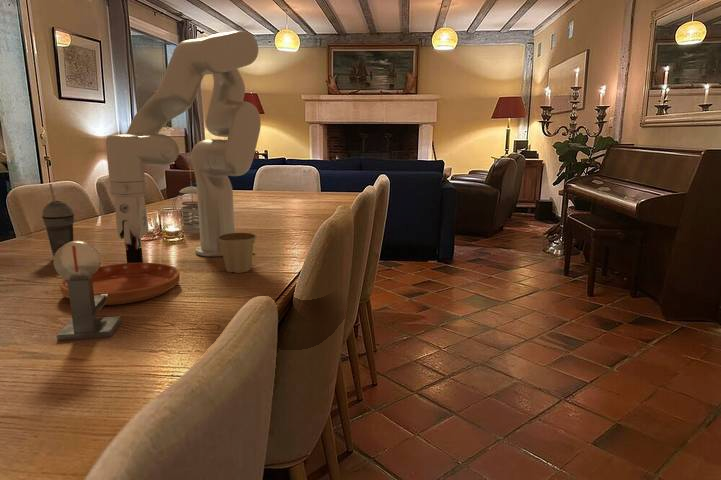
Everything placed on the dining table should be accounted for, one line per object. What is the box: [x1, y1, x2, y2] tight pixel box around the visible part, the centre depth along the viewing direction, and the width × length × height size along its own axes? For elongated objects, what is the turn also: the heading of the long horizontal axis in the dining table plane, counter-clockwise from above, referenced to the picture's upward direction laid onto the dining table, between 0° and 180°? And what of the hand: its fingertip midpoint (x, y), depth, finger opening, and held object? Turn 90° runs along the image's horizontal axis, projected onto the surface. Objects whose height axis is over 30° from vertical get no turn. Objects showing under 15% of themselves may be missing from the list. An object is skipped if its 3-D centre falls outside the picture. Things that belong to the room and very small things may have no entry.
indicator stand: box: [52, 240, 122, 342], centre depth 81 cm, size 8×8×16 cm
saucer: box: [59, 262, 181, 306], centre depth 102 cm, size 23×23×4 cm
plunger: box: [97, 294, 109, 312], centre depth 87 cm, size 1×6×1 cm, turn 13°
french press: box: [171, 157, 200, 234], centre depth 164 cm, size 10×12×25 cm
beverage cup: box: [41, 183, 75, 258], centre depth 125 cm, size 7×7×20 cm
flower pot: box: [217, 232, 257, 274], centre depth 118 cm, size 9×9×9 cm
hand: (135, 264), depth 114 cm, fingers closed
